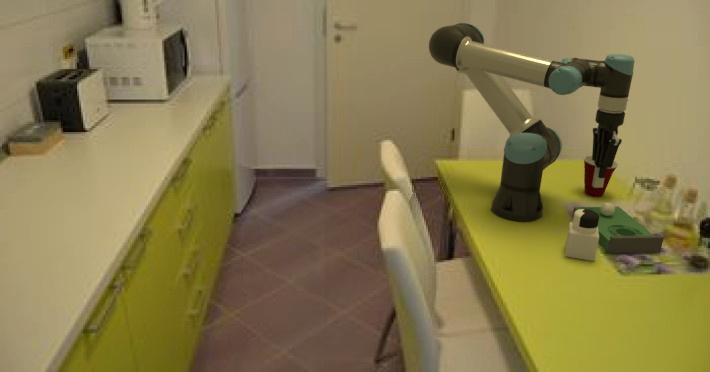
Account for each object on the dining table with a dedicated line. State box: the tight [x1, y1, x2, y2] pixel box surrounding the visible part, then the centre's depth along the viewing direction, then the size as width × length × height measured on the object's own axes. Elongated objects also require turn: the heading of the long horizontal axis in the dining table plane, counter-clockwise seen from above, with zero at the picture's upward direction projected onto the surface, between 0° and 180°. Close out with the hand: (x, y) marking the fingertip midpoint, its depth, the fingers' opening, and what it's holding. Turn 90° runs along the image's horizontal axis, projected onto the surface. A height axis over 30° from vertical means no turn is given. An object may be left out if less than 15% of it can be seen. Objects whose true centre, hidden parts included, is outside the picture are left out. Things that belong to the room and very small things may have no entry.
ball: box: [599, 201, 616, 216], centre depth 167 cm, size 4×4×4 cm
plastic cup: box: [583, 154, 620, 198], centre depth 188 cm, size 11×11×12 cm
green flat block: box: [572, 206, 664, 254], centre depth 163 cm, size 14×23×4 cm, turn 4°
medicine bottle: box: [565, 209, 599, 262], centre depth 150 cm, size 7×7×12 cm
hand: (597, 186), depth 173 cm, fingers closed
